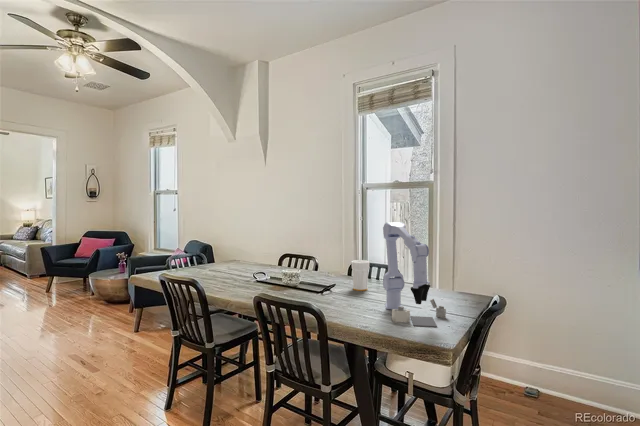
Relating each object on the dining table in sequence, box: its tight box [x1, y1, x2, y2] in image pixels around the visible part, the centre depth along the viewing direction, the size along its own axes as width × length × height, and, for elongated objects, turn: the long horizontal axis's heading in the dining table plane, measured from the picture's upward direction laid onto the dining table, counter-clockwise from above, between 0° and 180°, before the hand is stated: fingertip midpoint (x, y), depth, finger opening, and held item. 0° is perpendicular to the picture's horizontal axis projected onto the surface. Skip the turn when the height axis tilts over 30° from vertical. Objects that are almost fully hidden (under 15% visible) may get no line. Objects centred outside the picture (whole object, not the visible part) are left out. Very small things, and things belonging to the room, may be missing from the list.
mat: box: [410, 315, 438, 328], centre depth 158 cm, size 12×10×1 cm
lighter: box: [429, 298, 447, 319], centre depth 165 cm, size 7×2×8 cm, turn 56°
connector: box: [391, 305, 411, 323], centre depth 159 cm, size 3×8×7 cm, turn 82°
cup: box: [350, 259, 371, 292], centre depth 216 cm, size 11×11×17 cm
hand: (421, 302), depth 154 cm, fingers open, 7 cm apart
